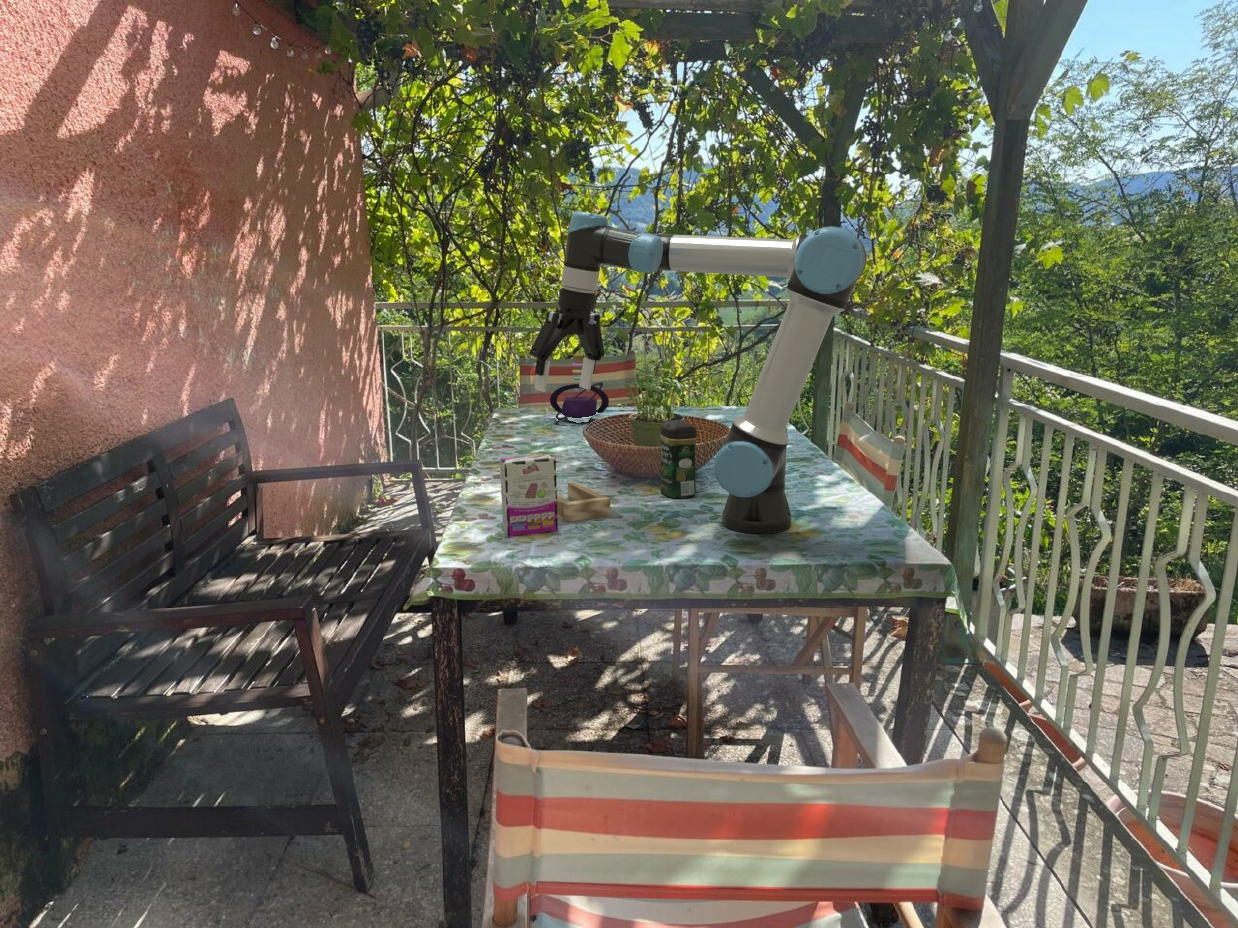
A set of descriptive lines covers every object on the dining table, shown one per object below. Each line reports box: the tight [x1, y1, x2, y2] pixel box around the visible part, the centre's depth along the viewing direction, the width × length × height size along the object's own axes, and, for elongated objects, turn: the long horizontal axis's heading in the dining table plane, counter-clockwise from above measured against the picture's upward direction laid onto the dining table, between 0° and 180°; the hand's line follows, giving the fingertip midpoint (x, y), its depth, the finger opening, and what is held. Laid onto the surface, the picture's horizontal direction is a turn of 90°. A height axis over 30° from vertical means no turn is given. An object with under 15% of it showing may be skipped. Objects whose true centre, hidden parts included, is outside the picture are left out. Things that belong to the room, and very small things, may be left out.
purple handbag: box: [549, 353, 610, 422], centre depth 310 cm, size 22×21×25 cm
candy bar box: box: [499, 453, 559, 539], centre depth 179 cm, size 11×5×16 cm, turn 112°
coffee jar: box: [659, 419, 697, 499], centre depth 209 cm, size 10×8×19 cm
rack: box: [557, 481, 611, 522], centre depth 196 cm, size 11×18×4 cm, turn 30°
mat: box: [557, 497, 624, 527], centre depth 196 cm, size 16×20×1 cm
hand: (562, 389), depth 180 cm, fingers open, 13 cm apart
